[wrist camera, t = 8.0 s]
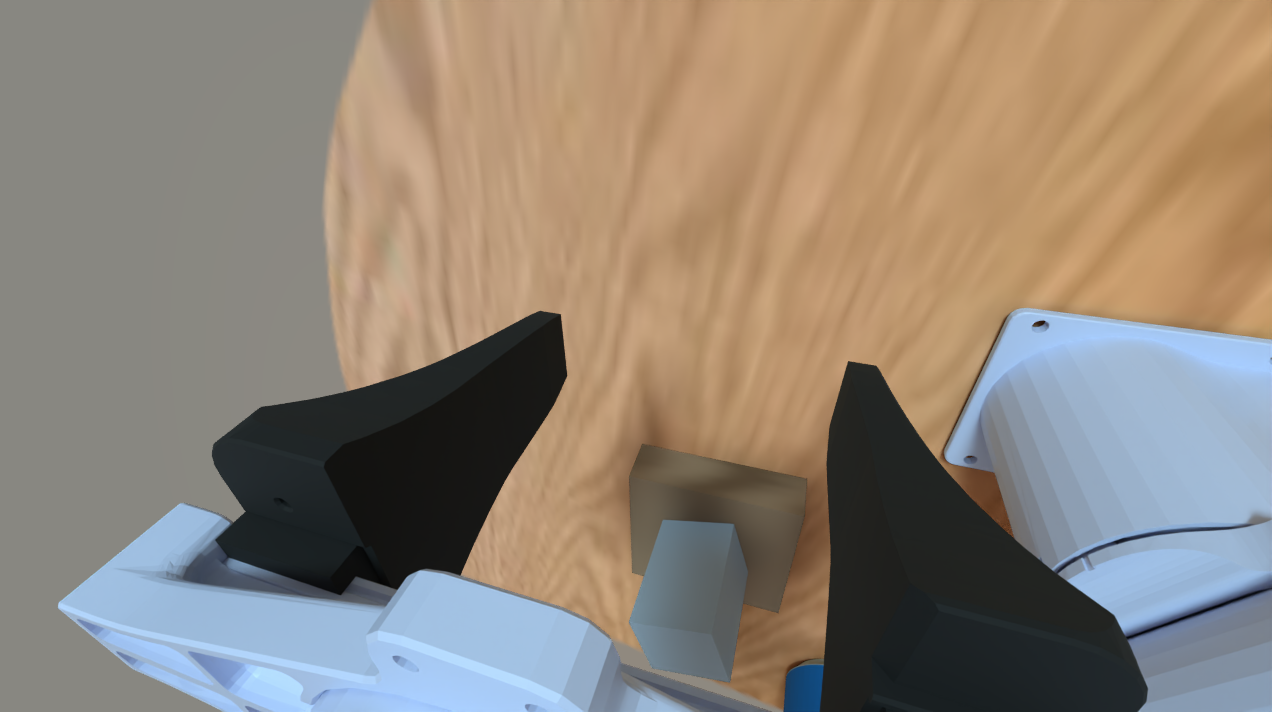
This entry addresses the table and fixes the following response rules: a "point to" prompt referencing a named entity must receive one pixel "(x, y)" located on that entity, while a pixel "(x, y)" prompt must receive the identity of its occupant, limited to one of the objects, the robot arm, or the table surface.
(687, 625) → the slate-blue block
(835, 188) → the table surface
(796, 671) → the beverage can
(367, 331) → the table surface
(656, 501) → the taupe plinth
